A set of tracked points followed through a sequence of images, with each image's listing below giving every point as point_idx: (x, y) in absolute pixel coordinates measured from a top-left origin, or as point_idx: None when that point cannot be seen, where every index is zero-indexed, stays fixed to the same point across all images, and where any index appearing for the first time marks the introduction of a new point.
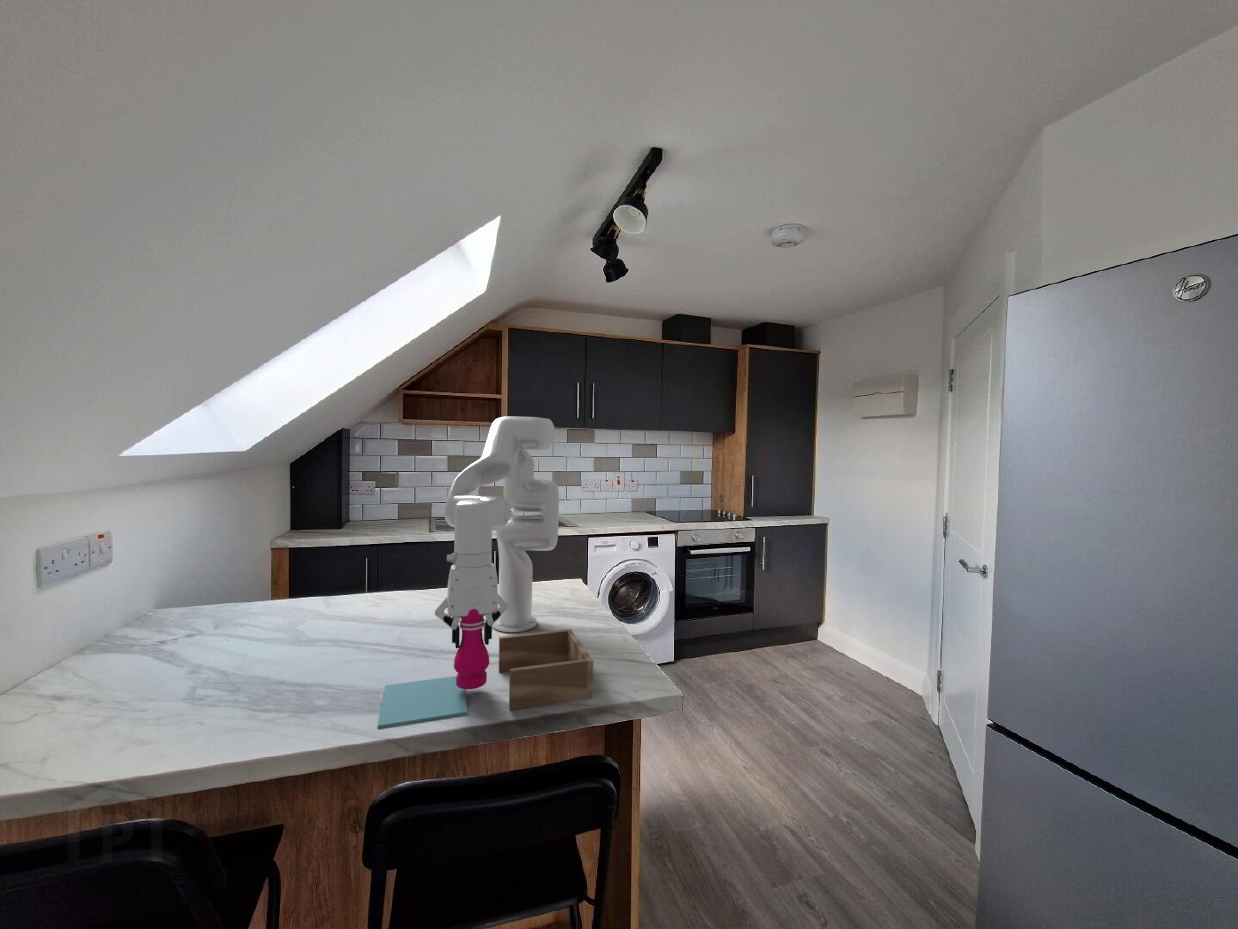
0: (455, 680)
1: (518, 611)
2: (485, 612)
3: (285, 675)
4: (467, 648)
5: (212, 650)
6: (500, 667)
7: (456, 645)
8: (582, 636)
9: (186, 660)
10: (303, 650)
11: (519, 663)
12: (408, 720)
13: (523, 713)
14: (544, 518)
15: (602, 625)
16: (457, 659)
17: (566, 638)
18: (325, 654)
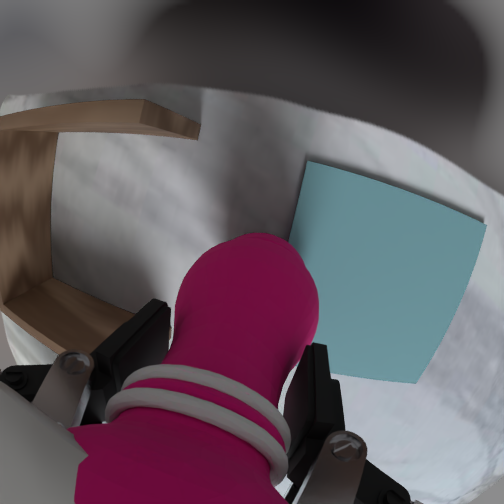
0: None
1: None
2: (21, 422)
3: (470, 440)
4: (269, 316)
5: (466, 482)
6: None
7: (324, 352)
8: (35, 348)
9: (487, 468)
10: (420, 483)
11: (120, 319)
12: (442, 206)
13: (177, 101)
14: None
15: (19, 355)
16: (314, 312)
17: (15, 298)
18: (410, 476)
